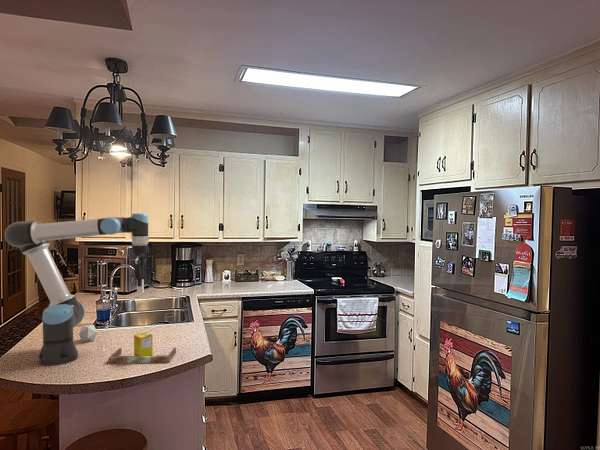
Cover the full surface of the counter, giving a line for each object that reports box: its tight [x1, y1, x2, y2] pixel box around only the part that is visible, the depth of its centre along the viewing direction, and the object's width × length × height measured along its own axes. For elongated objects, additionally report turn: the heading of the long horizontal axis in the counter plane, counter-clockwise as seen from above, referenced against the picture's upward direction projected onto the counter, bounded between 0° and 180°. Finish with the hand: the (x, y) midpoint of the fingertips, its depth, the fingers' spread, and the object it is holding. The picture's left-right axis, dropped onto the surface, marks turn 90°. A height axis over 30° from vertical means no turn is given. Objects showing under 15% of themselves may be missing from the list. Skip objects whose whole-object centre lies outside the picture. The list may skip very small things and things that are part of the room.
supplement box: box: [133, 332, 154, 357], centre depth 184 cm, size 6×6×11 cm
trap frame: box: [107, 347, 177, 364], centre depth 185 cm, size 26×12×2 cm, turn 94°
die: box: [78, 324, 98, 343], centre depth 209 cm, size 8×9×10 cm
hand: (140, 292), depth 201 cm, fingers closed
